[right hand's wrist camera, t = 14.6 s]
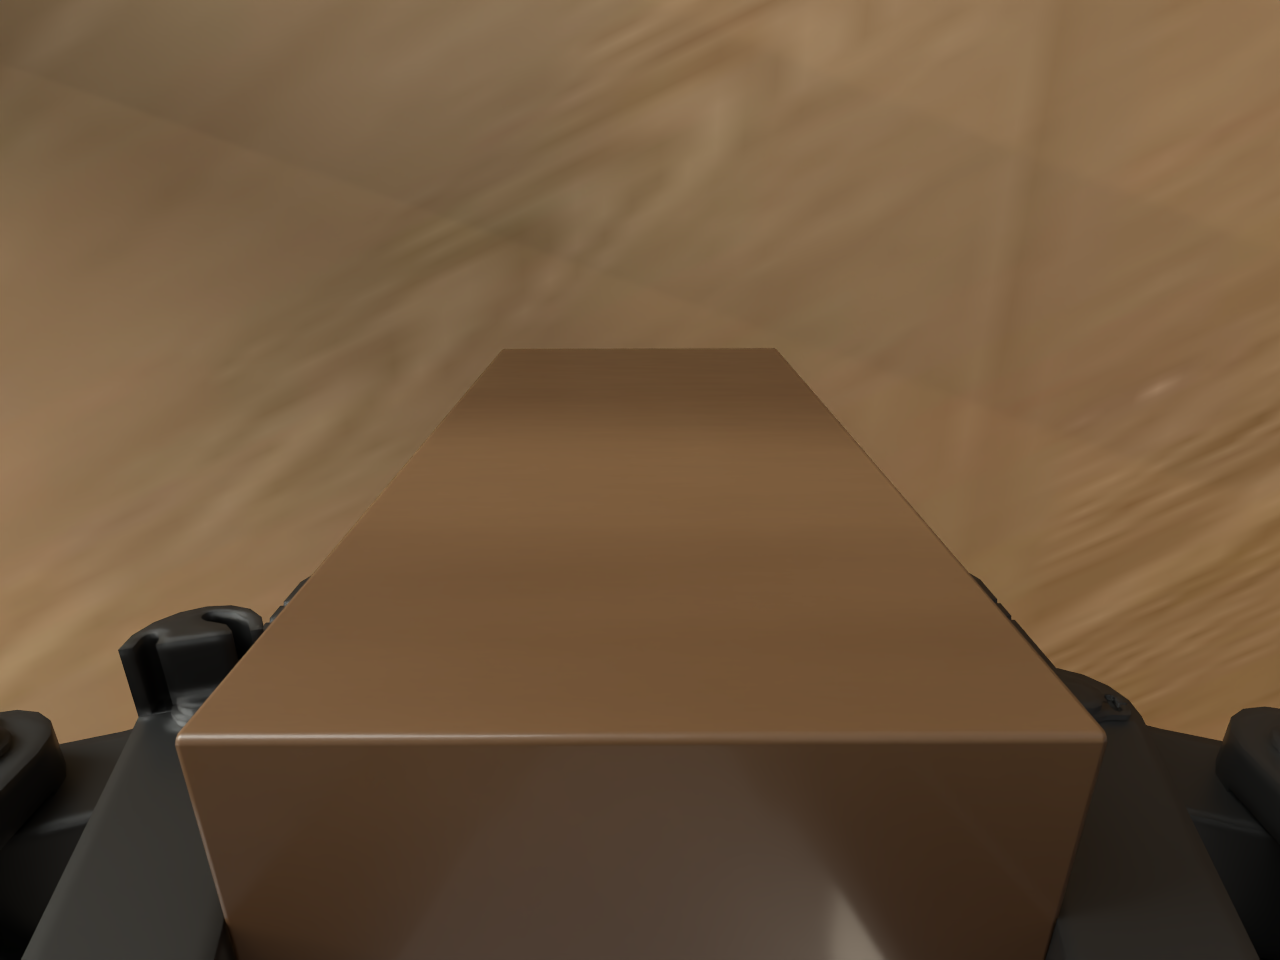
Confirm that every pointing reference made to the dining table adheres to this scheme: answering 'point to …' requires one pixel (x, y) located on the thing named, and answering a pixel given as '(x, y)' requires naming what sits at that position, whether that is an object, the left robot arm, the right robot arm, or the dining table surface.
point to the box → (641, 699)
